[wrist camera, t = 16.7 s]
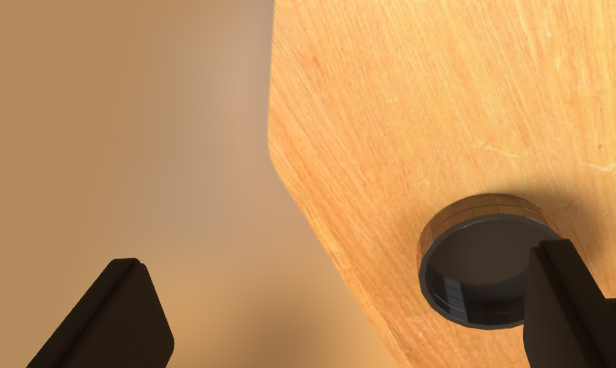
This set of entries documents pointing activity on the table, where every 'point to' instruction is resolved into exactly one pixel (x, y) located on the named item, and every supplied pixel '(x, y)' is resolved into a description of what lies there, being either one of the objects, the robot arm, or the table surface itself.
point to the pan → (481, 259)
